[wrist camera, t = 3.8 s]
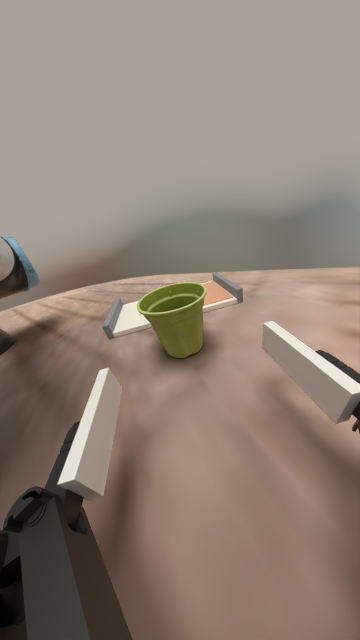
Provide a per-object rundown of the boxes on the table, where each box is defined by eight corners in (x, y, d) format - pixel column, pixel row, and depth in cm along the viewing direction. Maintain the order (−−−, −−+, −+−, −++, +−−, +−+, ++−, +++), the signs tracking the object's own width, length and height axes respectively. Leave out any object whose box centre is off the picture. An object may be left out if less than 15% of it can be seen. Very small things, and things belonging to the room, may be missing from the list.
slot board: (109, 339, 32) (102, 326, 30) (120, 309, 44) (115, 299, 42) (242, 301, 32) (242, 288, 31) (217, 282, 44) (216, 272, 43)
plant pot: (144, 361, 24) (121, 312, 20) (172, 325, 31) (159, 283, 26) (202, 374, 20) (189, 315, 15) (220, 329, 26) (215, 279, 22)
